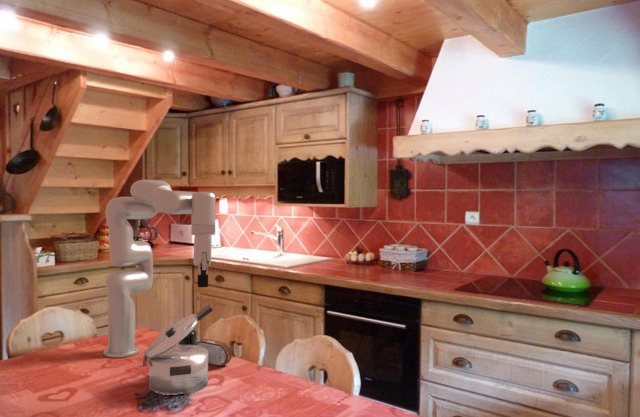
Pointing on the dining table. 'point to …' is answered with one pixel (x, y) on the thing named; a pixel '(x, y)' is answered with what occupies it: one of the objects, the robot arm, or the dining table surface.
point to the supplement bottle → (189, 339)
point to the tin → (216, 352)
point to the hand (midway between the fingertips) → (202, 286)
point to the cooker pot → (179, 370)
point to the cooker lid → (175, 333)
